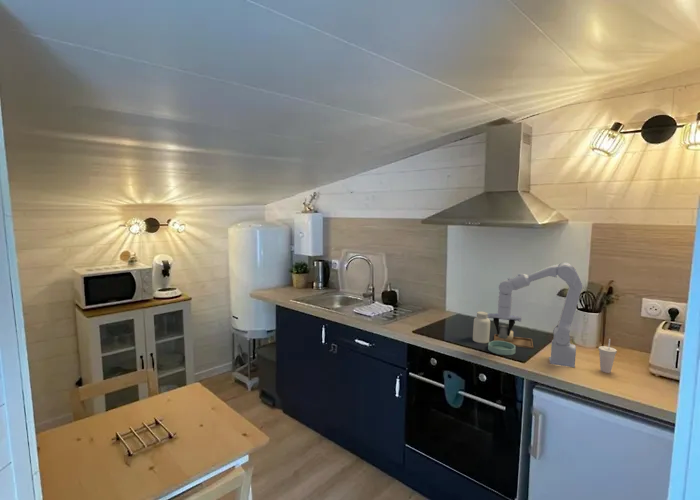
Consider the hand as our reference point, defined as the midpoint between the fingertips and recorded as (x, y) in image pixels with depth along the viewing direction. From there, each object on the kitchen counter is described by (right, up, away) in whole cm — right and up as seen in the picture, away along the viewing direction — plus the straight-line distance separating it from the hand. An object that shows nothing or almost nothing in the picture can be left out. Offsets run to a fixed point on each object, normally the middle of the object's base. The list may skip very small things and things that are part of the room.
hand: (503, 334), depth 181 cm
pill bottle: (-5, -7, +16) cm, 19 cm away
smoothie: (+36, -12, -18) cm, 42 cm away
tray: (+11, -7, +14) cm, 19 cm away
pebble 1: (0, -1, 0) cm, 1 cm away
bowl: (+1, -9, +3) cm, 9 cm away
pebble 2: (+9, -7, +16) cm, 19 cm away
